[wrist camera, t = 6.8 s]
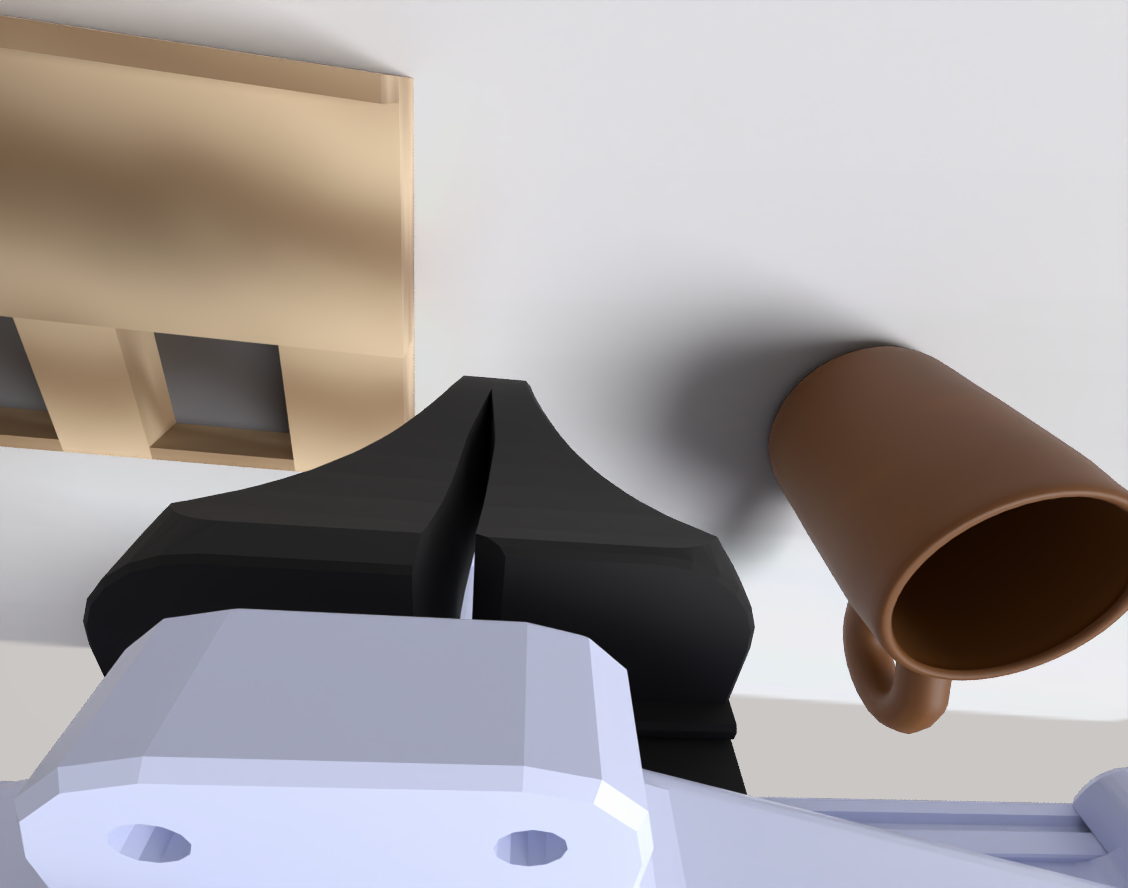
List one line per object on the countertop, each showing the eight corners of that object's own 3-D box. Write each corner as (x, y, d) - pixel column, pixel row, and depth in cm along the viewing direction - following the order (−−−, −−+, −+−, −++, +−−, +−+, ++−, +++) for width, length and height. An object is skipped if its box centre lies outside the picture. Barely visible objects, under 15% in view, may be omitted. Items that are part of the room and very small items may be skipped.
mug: (878, 573, 28) (1014, 765, 20) (725, 572, 28) (801, 767, 20) (982, 341, 22) (1239, 485, 14) (786, 335, 21) (934, 480, 13)
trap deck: (414, 452, 23) (393, 513, 20) (-130, 403, 21) (-256, 462, 18) (413, 78, 17) (381, 74, 13) (-377, -43, 15) (-652, -85, 11)
